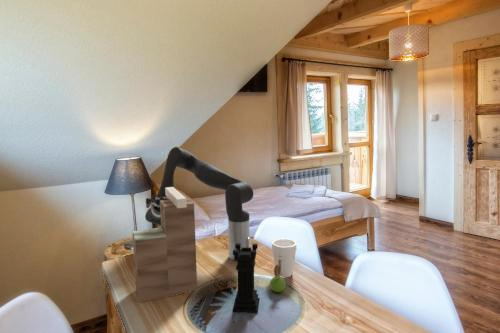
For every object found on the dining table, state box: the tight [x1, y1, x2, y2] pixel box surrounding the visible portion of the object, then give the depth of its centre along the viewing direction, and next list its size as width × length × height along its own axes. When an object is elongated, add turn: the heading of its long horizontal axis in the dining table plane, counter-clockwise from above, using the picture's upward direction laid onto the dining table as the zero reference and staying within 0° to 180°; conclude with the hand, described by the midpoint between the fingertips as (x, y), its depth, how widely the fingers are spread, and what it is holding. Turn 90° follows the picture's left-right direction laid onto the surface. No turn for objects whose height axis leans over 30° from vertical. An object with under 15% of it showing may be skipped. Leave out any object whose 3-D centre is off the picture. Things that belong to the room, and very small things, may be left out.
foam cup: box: [271, 238, 297, 277], centre depth 136 cm, size 10×9×13 cm
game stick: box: [165, 186, 187, 208], centre depth 125 cm, size 22×3×3 cm, turn 23°
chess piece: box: [232, 243, 261, 314], centre depth 113 cm, size 8×8×20 cm
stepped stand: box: [132, 197, 198, 304], centre depth 123 cm, size 10×20×32 cm, turn 113°
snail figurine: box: [269, 255, 286, 293], centre depth 123 cm, size 5×6×12 cm
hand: (165, 196), depth 145 cm, fingers open, 8 cm apart
